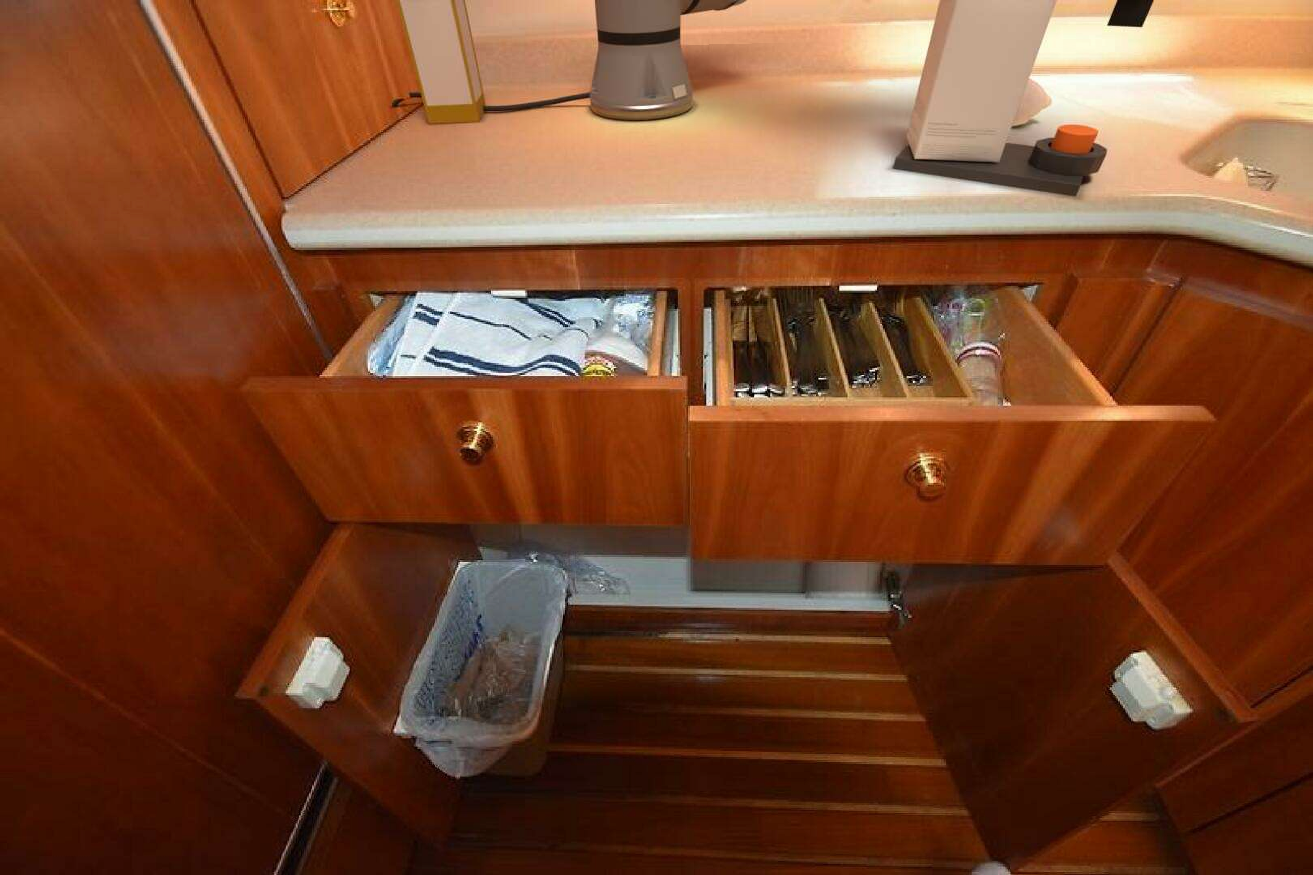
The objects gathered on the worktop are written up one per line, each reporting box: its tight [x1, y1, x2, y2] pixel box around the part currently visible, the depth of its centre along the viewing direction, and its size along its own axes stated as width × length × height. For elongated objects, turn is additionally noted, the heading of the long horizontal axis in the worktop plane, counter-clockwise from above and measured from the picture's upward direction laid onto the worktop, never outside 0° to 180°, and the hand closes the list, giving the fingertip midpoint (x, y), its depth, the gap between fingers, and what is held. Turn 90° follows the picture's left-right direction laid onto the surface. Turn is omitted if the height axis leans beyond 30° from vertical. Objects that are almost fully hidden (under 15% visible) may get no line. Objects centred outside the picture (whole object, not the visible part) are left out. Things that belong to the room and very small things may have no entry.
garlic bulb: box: [1012, 77, 1053, 127], centre depth 75 cm, size 6×6×5 cm
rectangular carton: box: [906, 0, 1058, 163], centre depth 61 cm, size 9×9×15 cm
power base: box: [892, 137, 1108, 198], centre depth 64 cm, size 19×11×3 cm, turn 59°
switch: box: [1050, 124, 1099, 154], centre depth 60 cm, size 4×4×2 cm
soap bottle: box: [395, 0, 487, 125], centre depth 77 cm, size 7×13×24 cm, turn 4°
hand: (1124, 24), depth 53 cm, fingers closed
